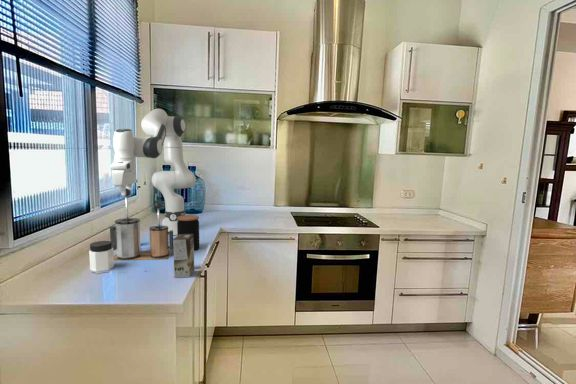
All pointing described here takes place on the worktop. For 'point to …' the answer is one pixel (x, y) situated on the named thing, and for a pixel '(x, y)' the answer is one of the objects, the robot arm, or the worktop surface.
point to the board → (145, 256)
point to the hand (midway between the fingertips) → (126, 194)
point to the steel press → (126, 238)
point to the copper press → (160, 241)
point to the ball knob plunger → (158, 205)
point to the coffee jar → (189, 227)
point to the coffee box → (183, 255)
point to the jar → (101, 256)
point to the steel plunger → (127, 202)
